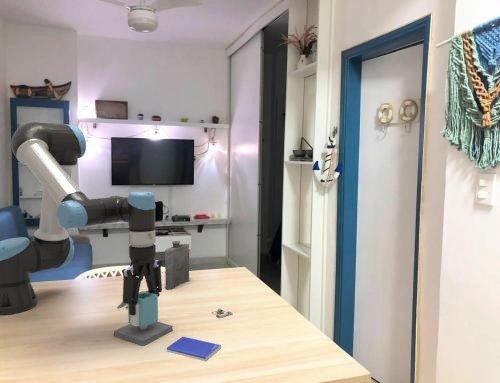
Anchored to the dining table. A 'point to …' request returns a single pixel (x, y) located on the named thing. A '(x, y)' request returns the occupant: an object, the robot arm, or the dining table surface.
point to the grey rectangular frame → (221, 313)
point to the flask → (176, 265)
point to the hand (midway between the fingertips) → (143, 320)
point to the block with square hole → (146, 308)
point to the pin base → (143, 332)
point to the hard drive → (194, 348)
